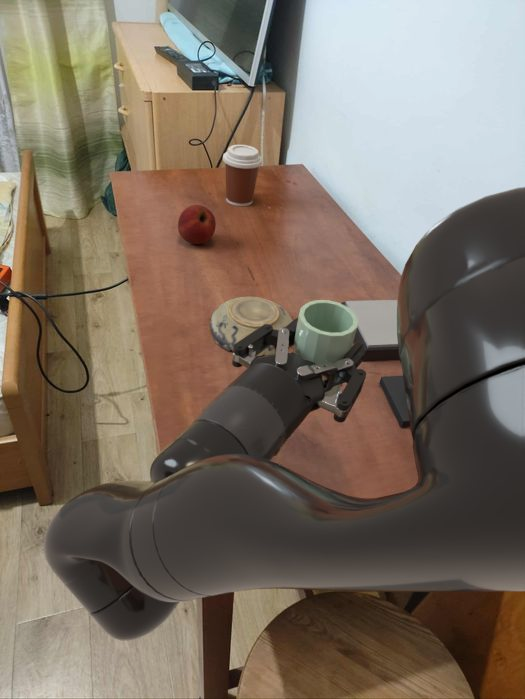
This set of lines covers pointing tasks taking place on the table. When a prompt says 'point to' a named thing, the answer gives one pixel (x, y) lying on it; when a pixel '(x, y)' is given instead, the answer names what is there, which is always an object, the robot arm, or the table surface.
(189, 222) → the apple
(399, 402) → the panel
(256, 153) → the coffee cup
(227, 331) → the decorative bowl
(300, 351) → the cup
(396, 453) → the table surface
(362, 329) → the scale
